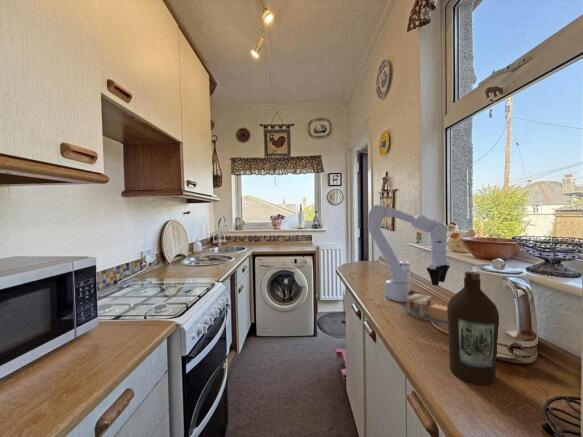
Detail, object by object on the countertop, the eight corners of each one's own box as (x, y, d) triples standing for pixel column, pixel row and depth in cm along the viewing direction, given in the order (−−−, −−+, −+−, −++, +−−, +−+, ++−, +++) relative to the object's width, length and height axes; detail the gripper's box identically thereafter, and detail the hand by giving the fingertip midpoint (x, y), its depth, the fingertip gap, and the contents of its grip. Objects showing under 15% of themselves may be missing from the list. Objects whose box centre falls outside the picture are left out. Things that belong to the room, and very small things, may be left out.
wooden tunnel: (406, 313, 104) (406, 298, 104) (415, 308, 110) (415, 293, 110) (423, 318, 100) (423, 301, 100) (431, 311, 106) (431, 296, 105)
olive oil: (444, 358, 75) (444, 267, 74) (490, 366, 71) (491, 269, 70) (450, 381, 65) (451, 276, 64) (505, 391, 61) (506, 279, 60)
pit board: (392, 314, 107) (392, 311, 107) (403, 307, 114) (403, 304, 114) (453, 330, 92) (453, 326, 92) (461, 321, 99) (461, 318, 99)
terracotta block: (428, 317, 101) (428, 306, 100) (432, 314, 103) (432, 303, 103) (462, 325, 93) (462, 314, 93) (465, 322, 96) (465, 310, 95)
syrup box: (411, 292, 135) (410, 262, 135) (398, 291, 136) (398, 262, 136) (408, 289, 141) (408, 260, 140) (396, 288, 142) (396, 260, 141)
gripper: (443, 254, 107) (443, 288, 107) (454, 250, 117) (454, 281, 118) (424, 252, 112) (424, 285, 113) (436, 248, 122) (436, 279, 123)
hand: (438, 283), depth 115 cm, fingers open, 7 cm apart
